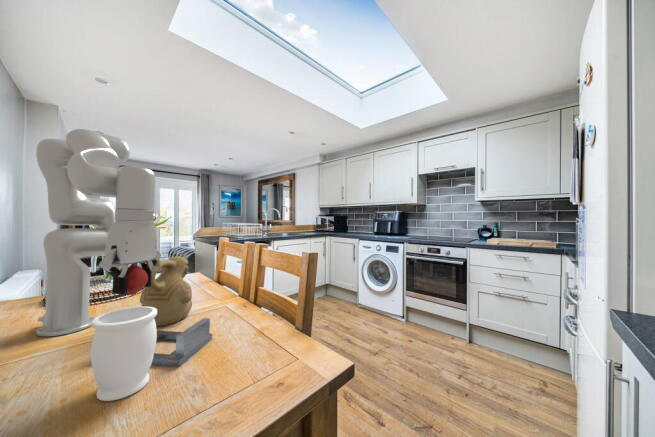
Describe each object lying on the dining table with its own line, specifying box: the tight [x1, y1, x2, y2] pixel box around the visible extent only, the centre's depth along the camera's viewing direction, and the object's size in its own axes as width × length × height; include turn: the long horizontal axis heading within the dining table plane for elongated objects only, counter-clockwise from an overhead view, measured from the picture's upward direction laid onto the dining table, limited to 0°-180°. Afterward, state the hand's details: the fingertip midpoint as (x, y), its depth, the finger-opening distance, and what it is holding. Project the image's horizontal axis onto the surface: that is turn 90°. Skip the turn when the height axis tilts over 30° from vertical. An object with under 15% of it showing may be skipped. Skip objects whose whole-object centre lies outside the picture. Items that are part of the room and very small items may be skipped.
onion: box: [124, 263, 148, 296], centre depth 60 cm, size 6×6×8 cm
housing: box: [151, 317, 213, 368], centre depth 65 cm, size 22×14×6 cm, turn 85°
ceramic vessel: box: [139, 249, 193, 327], centre depth 85 cm, size 17×20×25 cm
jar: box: [90, 305, 158, 402], centre depth 50 cm, size 11×10×15 cm
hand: (132, 289), depth 60 cm, fingers closed on onion, 5 cm apart
